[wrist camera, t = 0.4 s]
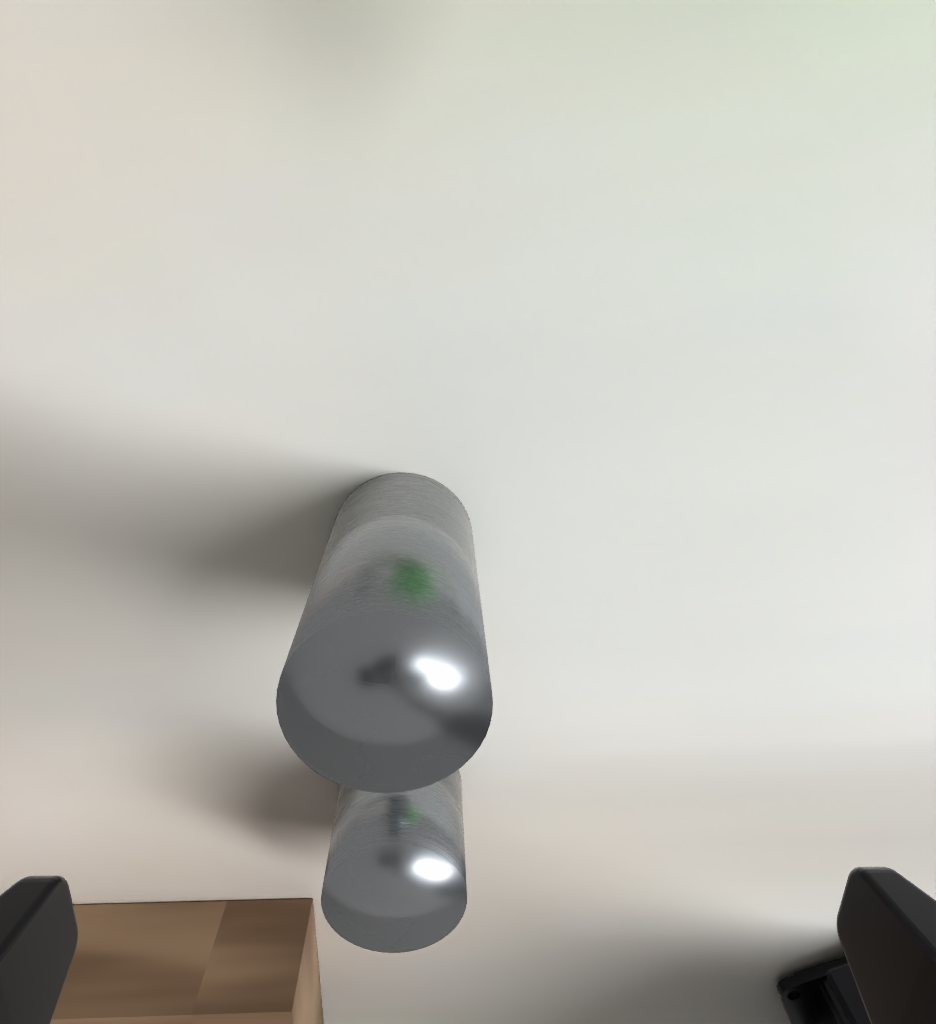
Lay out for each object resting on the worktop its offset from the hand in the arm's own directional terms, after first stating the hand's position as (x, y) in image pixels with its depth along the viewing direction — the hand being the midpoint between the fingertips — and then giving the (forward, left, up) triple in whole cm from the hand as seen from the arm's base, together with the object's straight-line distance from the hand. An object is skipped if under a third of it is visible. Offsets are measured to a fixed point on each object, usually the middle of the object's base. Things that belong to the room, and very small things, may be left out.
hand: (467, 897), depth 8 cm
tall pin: (0, +2, -13) cm, 13 cm away
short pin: (-8, +6, -13) cm, 17 cm away
